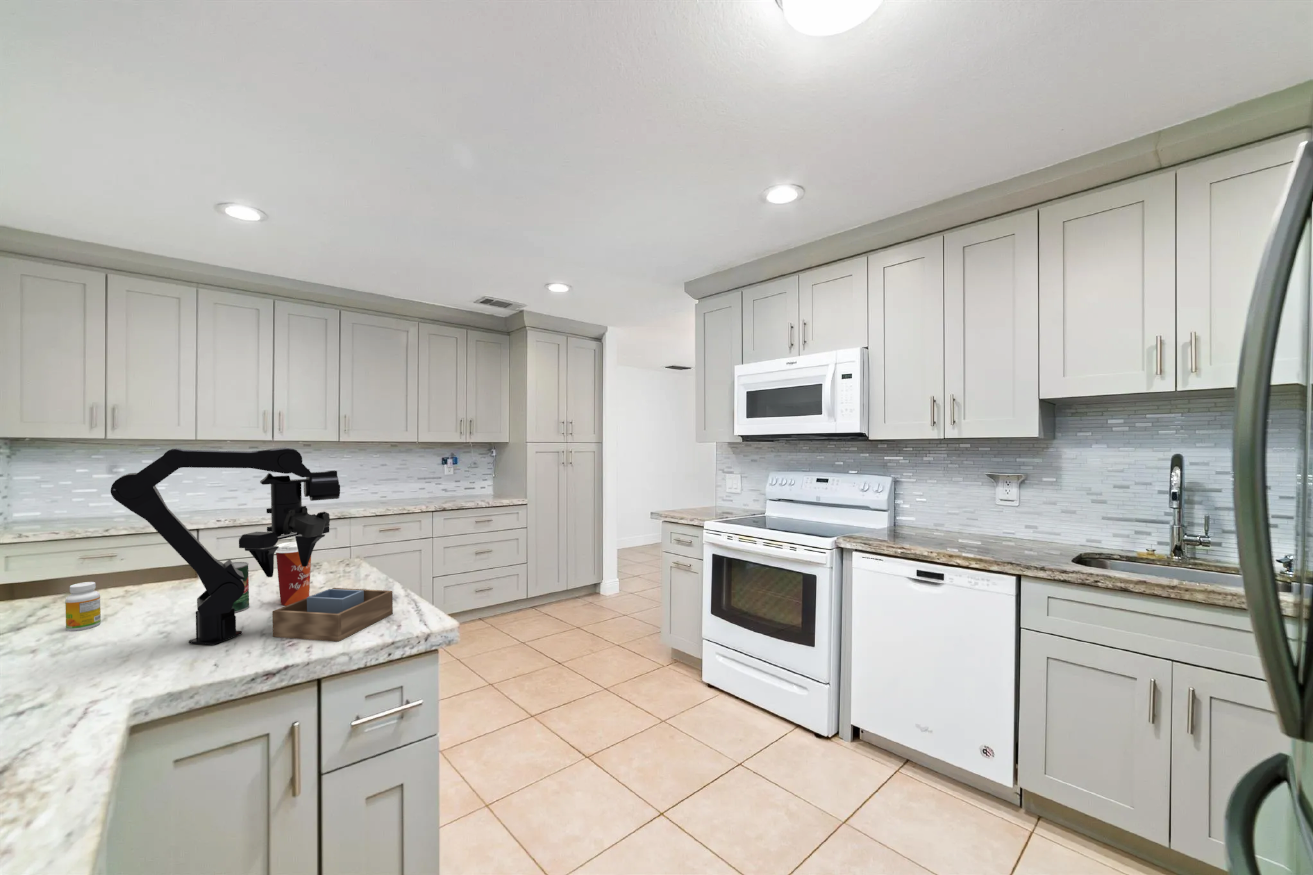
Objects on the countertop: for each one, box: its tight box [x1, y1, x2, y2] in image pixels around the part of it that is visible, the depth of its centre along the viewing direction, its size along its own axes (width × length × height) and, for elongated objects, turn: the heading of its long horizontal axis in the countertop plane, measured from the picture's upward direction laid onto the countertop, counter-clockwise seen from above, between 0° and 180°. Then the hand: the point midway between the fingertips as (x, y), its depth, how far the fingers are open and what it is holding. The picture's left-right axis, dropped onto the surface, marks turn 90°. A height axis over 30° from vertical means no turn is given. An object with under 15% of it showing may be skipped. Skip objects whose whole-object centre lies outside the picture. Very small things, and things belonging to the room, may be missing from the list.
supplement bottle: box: [64, 581, 102, 632], centre depth 121 cm, size 5×5×10 cm
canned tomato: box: [232, 561, 250, 614], centre depth 132 cm, size 8×8×11 cm
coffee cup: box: [274, 541, 312, 607], centre depth 138 cm, size 8×8×15 cm
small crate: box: [307, 588, 364, 614], centre depth 121 cm, size 9×6×6 cm
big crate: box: [271, 587, 394, 642], centre depth 121 cm, size 16×17×6 cm
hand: (287, 571), depth 122 cm, fingers open, 9 cm apart
